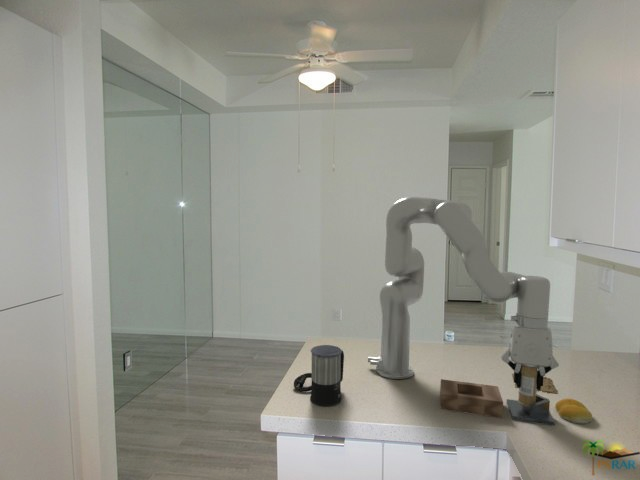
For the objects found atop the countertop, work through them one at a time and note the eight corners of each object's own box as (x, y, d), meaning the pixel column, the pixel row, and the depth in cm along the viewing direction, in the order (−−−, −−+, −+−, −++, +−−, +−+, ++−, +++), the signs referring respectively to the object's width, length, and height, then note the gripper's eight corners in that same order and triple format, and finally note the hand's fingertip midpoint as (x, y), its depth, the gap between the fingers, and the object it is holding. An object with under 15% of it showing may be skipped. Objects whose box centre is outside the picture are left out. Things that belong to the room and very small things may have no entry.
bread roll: (562, 423, 108) (563, 408, 108) (551, 407, 117) (552, 393, 116) (597, 427, 106) (598, 412, 106) (584, 410, 115) (585, 397, 114)
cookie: (510, 374, 140) (511, 371, 140) (551, 380, 135) (551, 377, 135) (514, 389, 128) (514, 386, 128) (558, 395, 124) (558, 392, 124)
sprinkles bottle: (539, 405, 112) (542, 358, 111) (530, 409, 109) (533, 361, 108) (523, 398, 116) (526, 352, 114) (514, 402, 113) (516, 355, 112)
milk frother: (338, 409, 114) (339, 357, 112) (284, 402, 117) (284, 352, 116) (346, 387, 127) (346, 340, 126) (297, 381, 131) (297, 336, 129)
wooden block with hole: (440, 409, 114) (441, 393, 114) (440, 393, 124) (440, 379, 123) (502, 418, 110) (503, 401, 109) (497, 401, 119) (497, 386, 119)
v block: (512, 420, 109) (513, 403, 108) (506, 401, 119) (507, 387, 118) (554, 426, 106) (555, 409, 106) (544, 407, 116) (545, 391, 116)
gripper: (500, 322, 109) (496, 388, 111) (571, 328, 104) (566, 397, 106) (496, 315, 116) (493, 377, 118) (562, 321, 112) (558, 385, 113)
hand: (527, 386), depth 112 cm, fingers closed on sprinkles bottle, 4 cm apart
